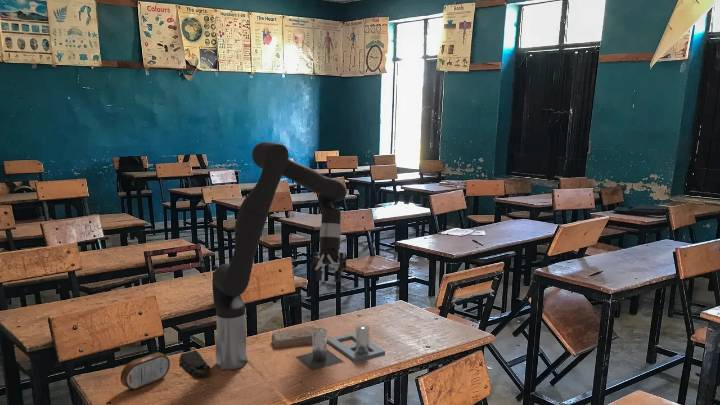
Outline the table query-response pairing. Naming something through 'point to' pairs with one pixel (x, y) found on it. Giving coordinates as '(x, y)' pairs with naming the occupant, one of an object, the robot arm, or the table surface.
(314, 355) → the cylinder
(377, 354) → the grey slotted holder
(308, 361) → the mat
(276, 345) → the brick
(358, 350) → the cylinder
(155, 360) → the tin
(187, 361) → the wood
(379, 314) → the table surface
